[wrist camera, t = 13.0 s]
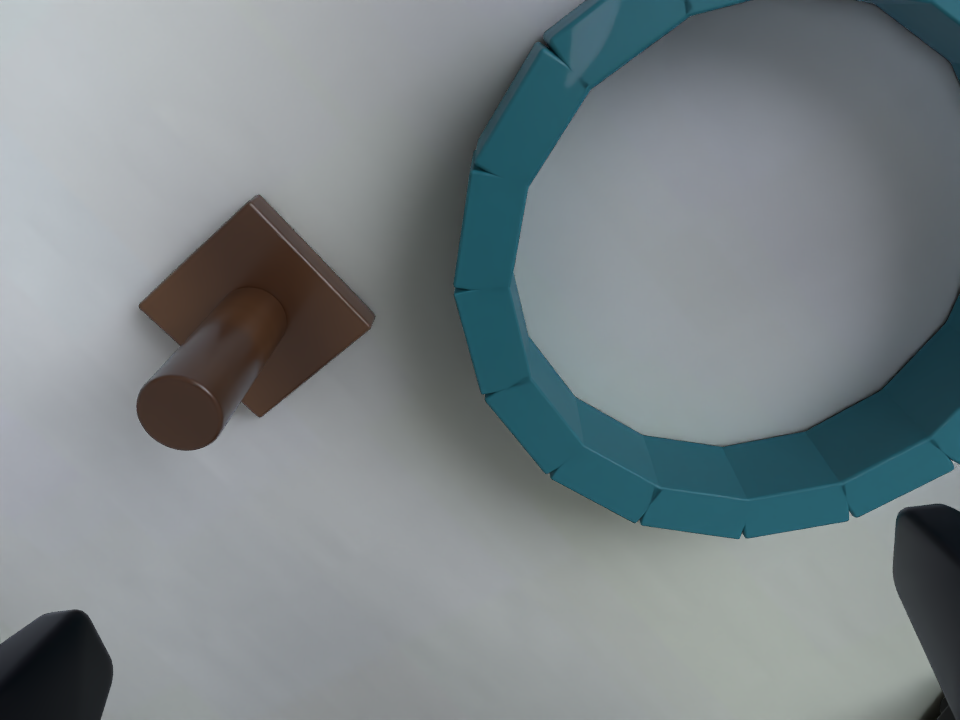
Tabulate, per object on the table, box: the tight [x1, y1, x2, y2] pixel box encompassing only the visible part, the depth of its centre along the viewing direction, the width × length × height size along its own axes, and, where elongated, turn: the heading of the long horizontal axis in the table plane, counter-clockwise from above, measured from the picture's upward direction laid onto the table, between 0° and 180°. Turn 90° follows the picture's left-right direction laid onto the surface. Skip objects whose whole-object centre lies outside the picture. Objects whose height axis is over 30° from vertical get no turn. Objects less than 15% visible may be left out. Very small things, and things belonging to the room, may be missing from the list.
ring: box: [453, 0, 960, 539], centre depth 17 cm, size 13×13×2 cm
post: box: [136, 195, 375, 451], centre depth 16 cm, size 4×4×6 cm
